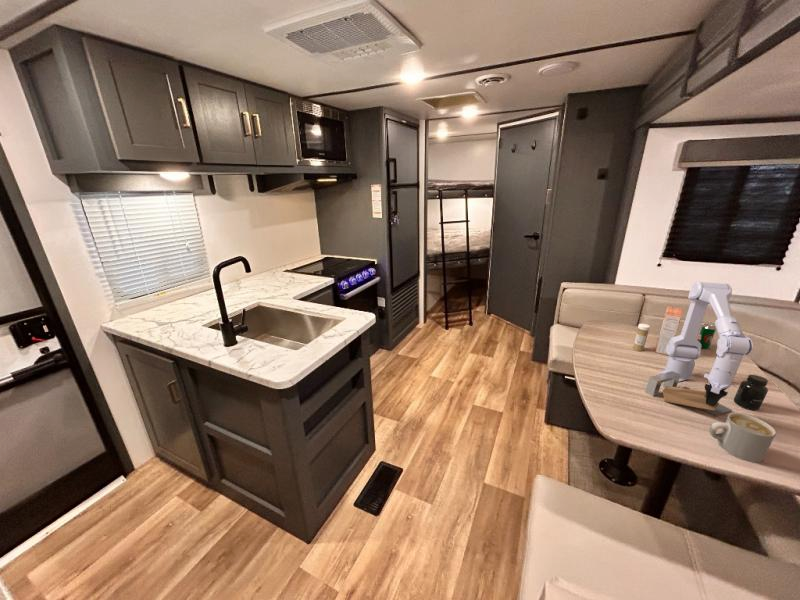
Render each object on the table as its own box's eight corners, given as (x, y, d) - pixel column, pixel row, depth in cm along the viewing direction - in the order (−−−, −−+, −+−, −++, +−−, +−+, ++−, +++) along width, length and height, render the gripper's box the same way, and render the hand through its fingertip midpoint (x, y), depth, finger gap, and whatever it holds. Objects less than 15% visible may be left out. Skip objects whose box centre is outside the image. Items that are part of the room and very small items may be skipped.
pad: (685, 387, 127) (685, 386, 127) (731, 411, 114) (732, 410, 114) (669, 392, 125) (670, 391, 125) (715, 416, 111) (715, 415, 111)
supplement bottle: (755, 413, 113) (768, 385, 109) (729, 402, 119) (741, 375, 114) (762, 407, 116) (775, 380, 112) (737, 397, 122) (748, 370, 117)
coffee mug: (756, 445, 99) (768, 420, 96) (768, 467, 91) (782, 441, 88) (700, 429, 106) (710, 405, 103) (707, 448, 98) (717, 423, 95)
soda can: (696, 343, 162) (703, 322, 158) (709, 346, 159) (717, 325, 155) (694, 346, 159) (702, 325, 155) (708, 350, 156) (716, 328, 152)
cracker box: (656, 342, 164) (667, 305, 157) (671, 345, 161) (683, 308, 153) (653, 352, 155) (665, 313, 147) (669, 356, 151) (682, 316, 144)
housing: (667, 385, 129) (672, 371, 127) (675, 389, 126) (680, 375, 124) (645, 391, 125) (649, 377, 123) (652, 396, 123) (657, 381, 120)
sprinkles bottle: (644, 349, 157) (651, 325, 152) (641, 352, 155) (648, 327, 150) (634, 346, 161) (641, 322, 156) (630, 348, 158) (637, 324, 154)
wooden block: (668, 396, 122) (666, 385, 122) (718, 405, 110) (716, 392, 110) (664, 401, 120) (662, 389, 119) (715, 410, 108) (713, 397, 108)
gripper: (712, 356, 112) (700, 388, 117) (704, 371, 104) (691, 404, 109) (740, 364, 107) (726, 397, 112) (734, 380, 99) (719, 415, 104)
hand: (711, 401), depth 110 cm, fingers closed on wooden block, 5 cm apart
